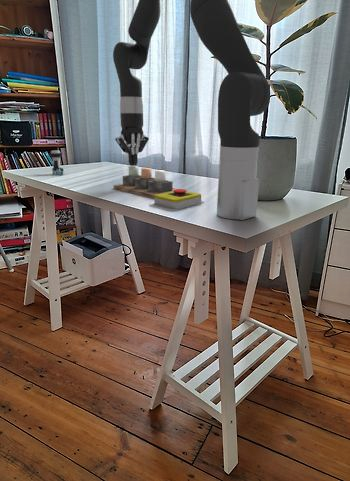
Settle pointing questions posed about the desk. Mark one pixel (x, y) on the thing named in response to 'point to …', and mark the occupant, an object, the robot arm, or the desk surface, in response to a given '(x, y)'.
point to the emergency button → (176, 200)
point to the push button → (56, 162)
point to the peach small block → (146, 173)
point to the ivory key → (160, 176)
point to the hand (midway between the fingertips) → (133, 165)
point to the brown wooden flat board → (144, 186)
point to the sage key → (133, 171)
